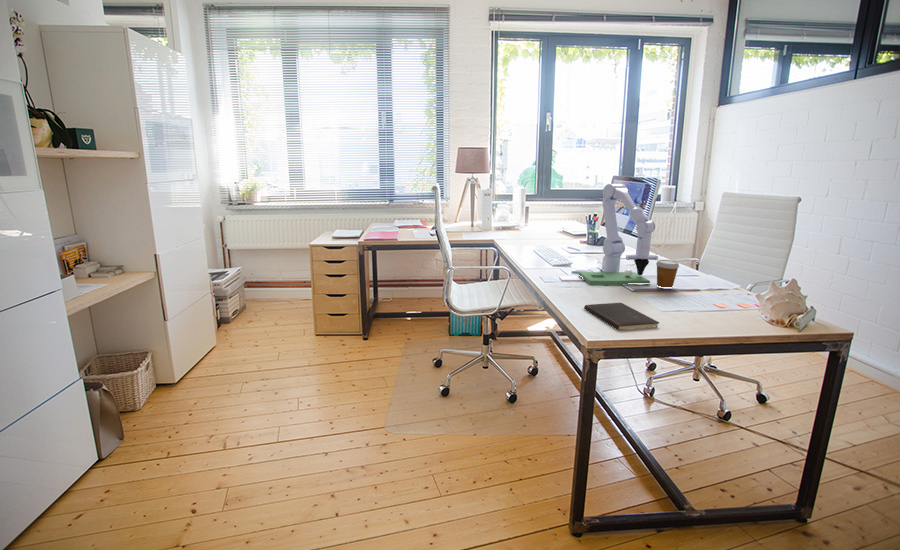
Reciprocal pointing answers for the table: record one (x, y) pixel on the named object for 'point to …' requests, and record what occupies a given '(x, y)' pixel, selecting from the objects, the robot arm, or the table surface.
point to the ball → (628, 272)
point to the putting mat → (611, 278)
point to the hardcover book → (620, 316)
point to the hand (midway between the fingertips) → (639, 274)
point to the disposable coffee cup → (666, 272)
